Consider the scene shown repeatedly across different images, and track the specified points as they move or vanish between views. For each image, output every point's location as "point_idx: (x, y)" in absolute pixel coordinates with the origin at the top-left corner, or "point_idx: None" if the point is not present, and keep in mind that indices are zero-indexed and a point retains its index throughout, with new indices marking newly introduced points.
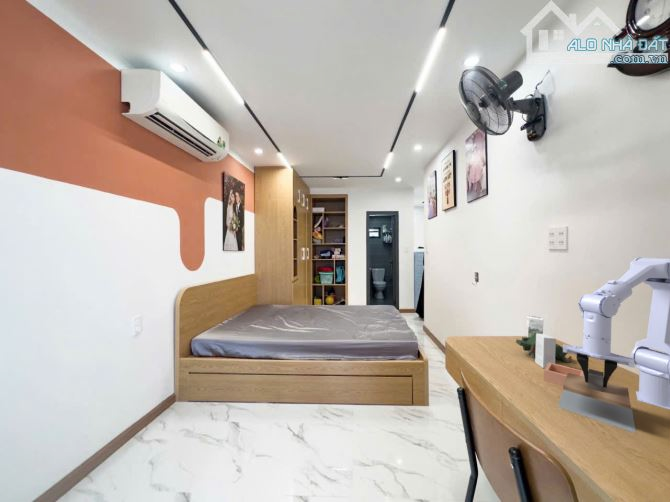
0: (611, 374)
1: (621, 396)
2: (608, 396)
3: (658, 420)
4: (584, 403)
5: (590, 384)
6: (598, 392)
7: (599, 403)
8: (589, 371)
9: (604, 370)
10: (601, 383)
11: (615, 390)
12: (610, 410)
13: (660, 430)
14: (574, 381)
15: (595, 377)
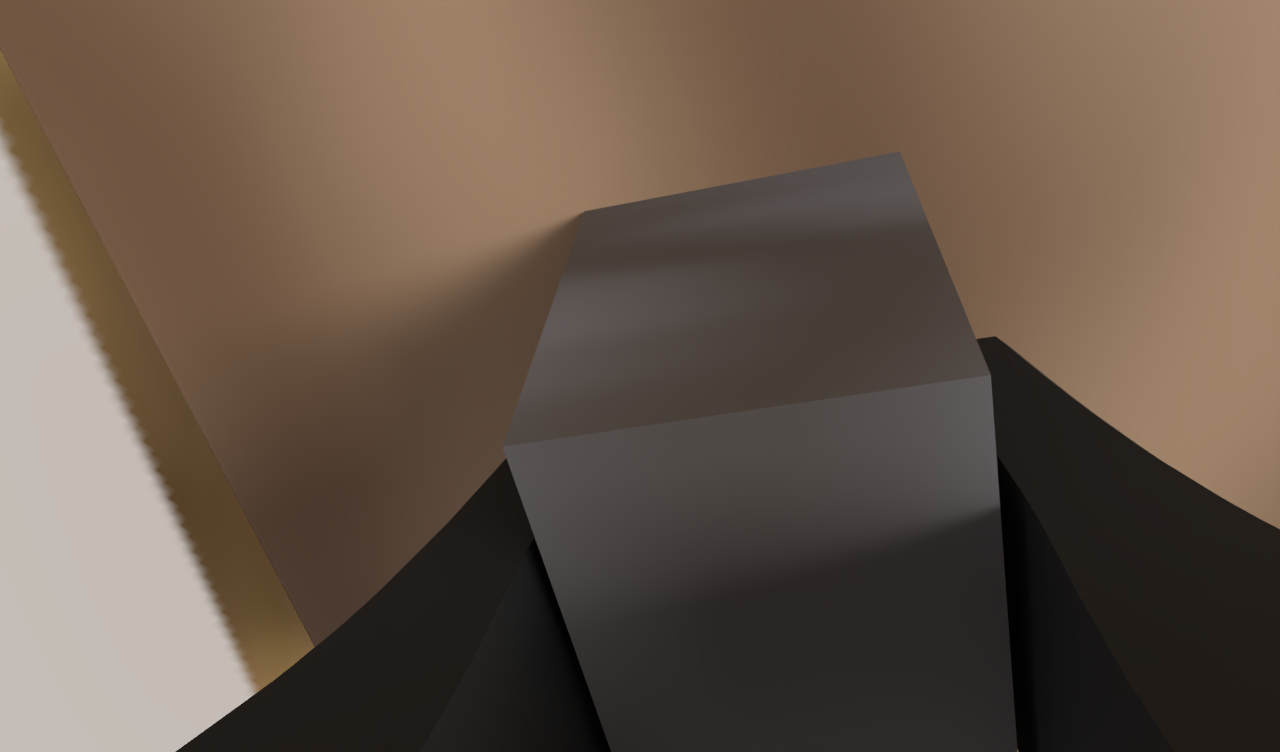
0: (255, 705)
1: (281, 330)
2: (405, 15)
3: (243, 569)
4: None
5: (854, 204)
6: (639, 68)
7: None
8: (988, 677)
9: (409, 744)
10: (584, 317)
11: None
12: None
13: (113, 311)
14: (1241, 310)
15: (736, 364)
